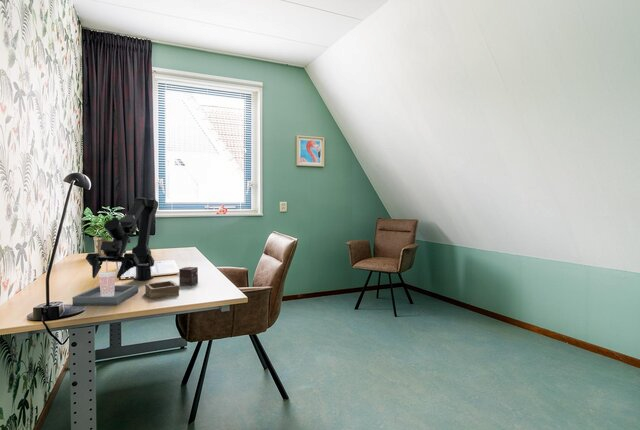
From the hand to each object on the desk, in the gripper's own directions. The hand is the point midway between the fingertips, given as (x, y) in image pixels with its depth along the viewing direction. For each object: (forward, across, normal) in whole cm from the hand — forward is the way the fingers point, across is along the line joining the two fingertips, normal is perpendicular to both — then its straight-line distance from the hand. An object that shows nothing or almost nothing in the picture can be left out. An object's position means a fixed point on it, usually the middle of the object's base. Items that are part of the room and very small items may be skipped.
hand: (105, 277), depth 149 cm
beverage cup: (+5, 0, +6) cm, 8 cm away
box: (-11, +24, +24) cm, 36 cm away
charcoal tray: (+5, 0, +7) cm, 9 cm away
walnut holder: (+1, +19, +11) cm, 22 cm away
